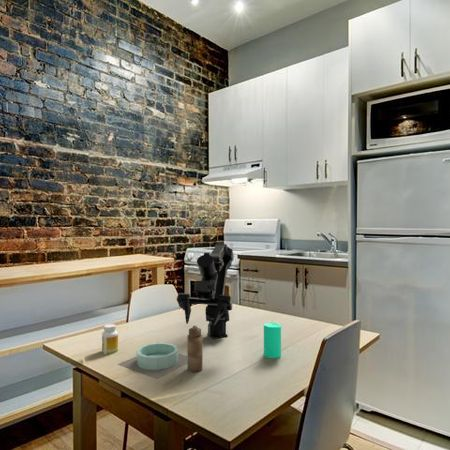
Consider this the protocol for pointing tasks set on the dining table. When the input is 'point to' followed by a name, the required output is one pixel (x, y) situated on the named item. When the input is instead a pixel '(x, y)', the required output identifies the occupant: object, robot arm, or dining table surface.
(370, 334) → the dining table surface
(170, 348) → the bowl
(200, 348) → the mill
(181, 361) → the mat
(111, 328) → the supplement bottle
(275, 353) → the candle
